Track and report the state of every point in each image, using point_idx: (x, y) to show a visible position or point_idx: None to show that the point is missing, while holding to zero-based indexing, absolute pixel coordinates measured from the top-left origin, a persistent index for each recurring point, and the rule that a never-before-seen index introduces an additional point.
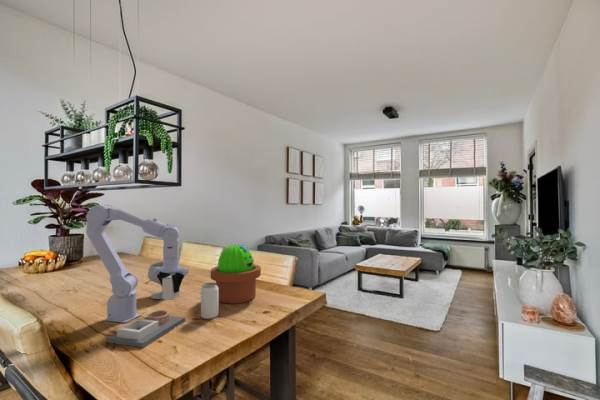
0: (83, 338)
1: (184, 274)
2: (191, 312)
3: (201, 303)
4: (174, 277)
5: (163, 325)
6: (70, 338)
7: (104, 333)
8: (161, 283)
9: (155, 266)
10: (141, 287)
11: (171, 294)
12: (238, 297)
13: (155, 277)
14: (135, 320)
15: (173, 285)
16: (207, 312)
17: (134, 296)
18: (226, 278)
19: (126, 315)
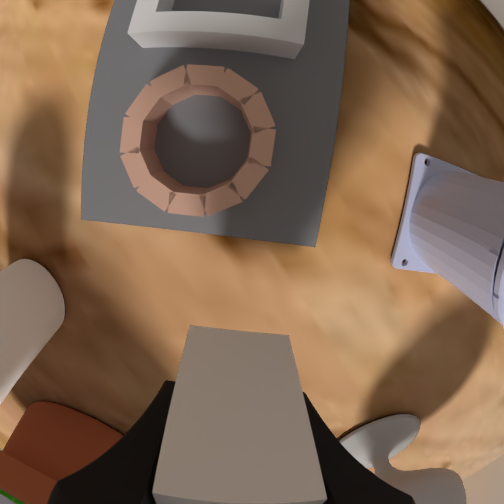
0: (455, 20)
1: (2, 499)
2: (136, 329)
3: (8, 303)
4: (81, 499)
5: (135, 86)
6: (487, 34)
7: (423, 46)
8: (335, 448)
9: None
10: (454, 447)
11: (188, 355)
12: (27, 414)
13: (429, 485)
14: (298, 17)
15: (161, 432)
16: (4, 269)
17: (487, 264)
18: (7, 471)
19: (440, 184)
